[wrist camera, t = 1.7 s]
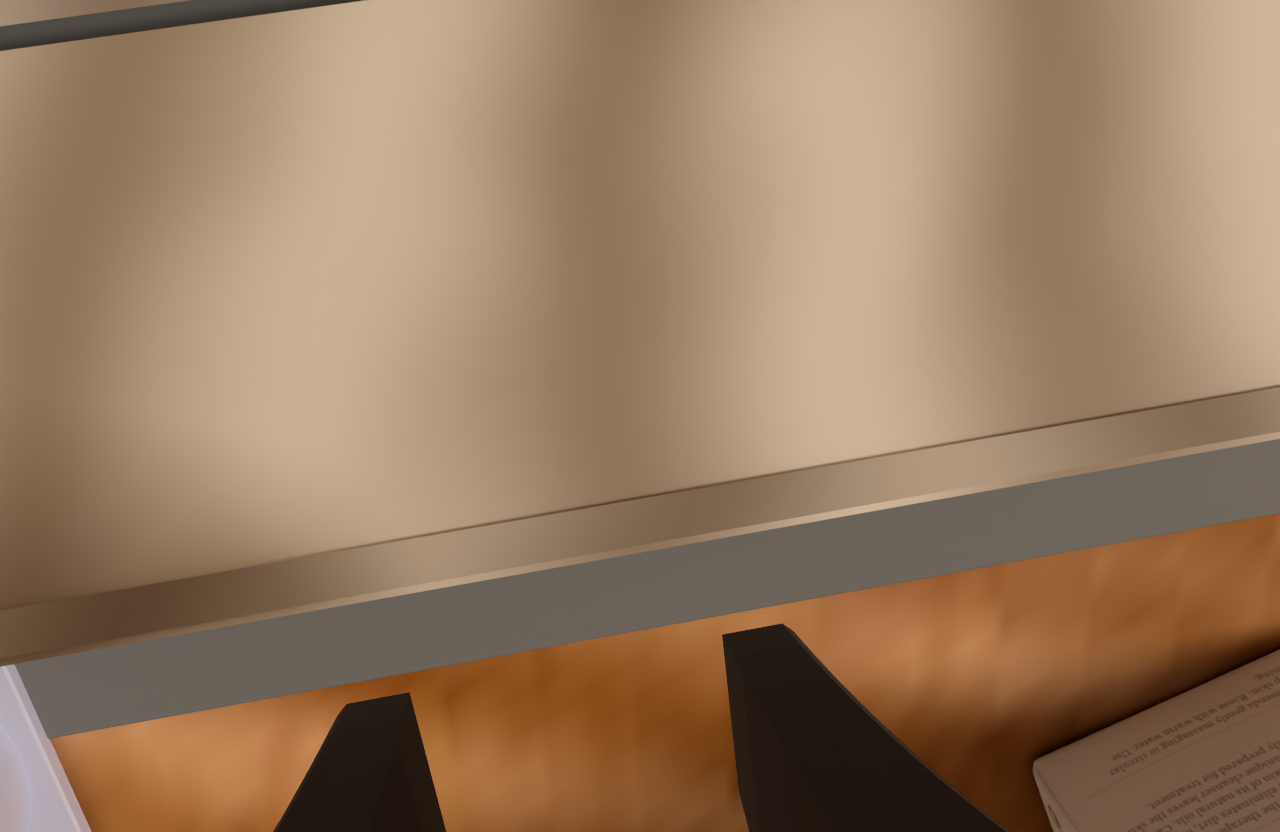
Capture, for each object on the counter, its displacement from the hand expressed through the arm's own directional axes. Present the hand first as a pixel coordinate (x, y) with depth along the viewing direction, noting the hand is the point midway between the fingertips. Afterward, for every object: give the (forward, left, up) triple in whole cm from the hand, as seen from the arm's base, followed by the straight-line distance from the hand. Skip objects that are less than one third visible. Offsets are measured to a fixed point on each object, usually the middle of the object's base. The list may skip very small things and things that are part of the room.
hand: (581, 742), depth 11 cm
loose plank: (+2, +2, -7) cm, 8 cm away
